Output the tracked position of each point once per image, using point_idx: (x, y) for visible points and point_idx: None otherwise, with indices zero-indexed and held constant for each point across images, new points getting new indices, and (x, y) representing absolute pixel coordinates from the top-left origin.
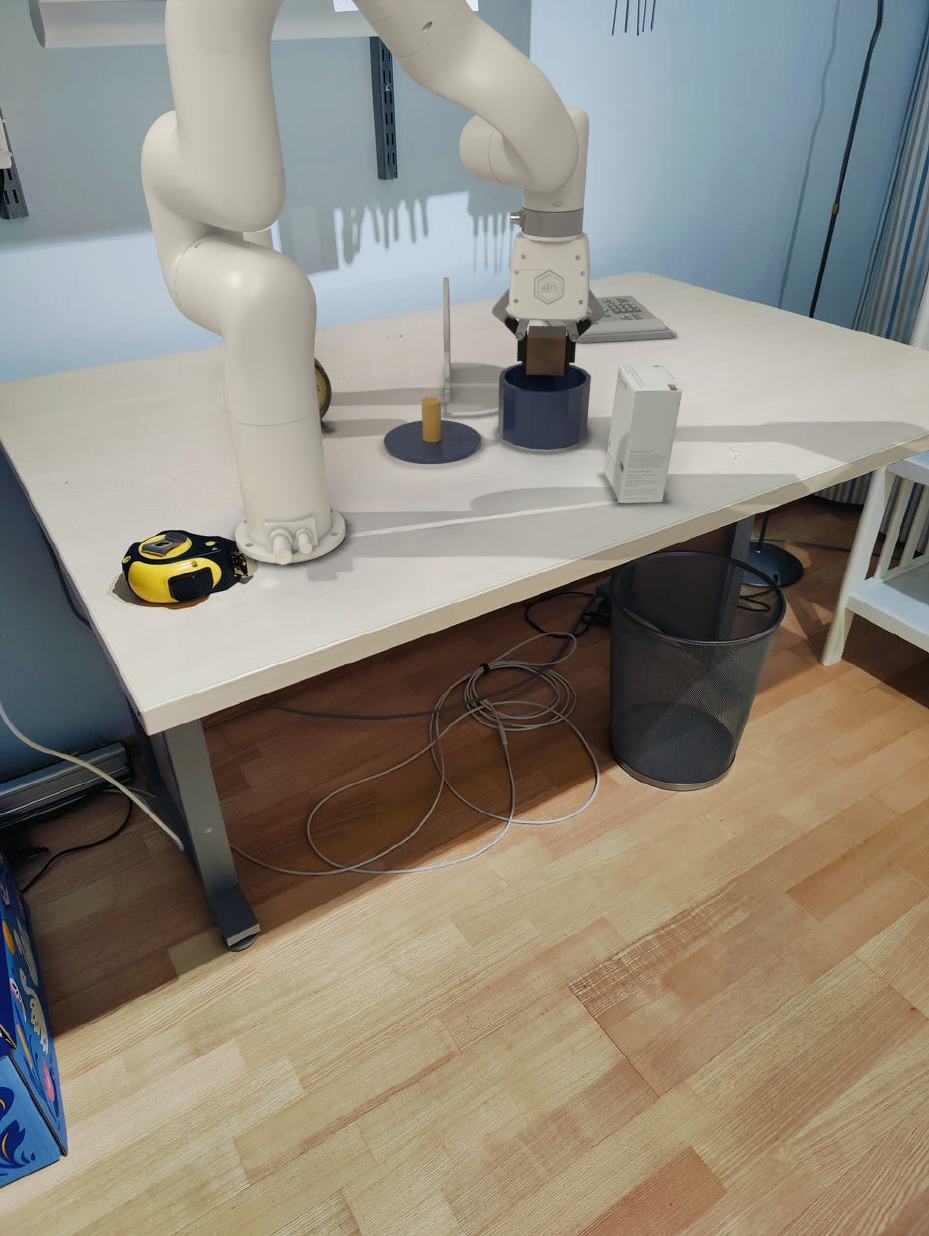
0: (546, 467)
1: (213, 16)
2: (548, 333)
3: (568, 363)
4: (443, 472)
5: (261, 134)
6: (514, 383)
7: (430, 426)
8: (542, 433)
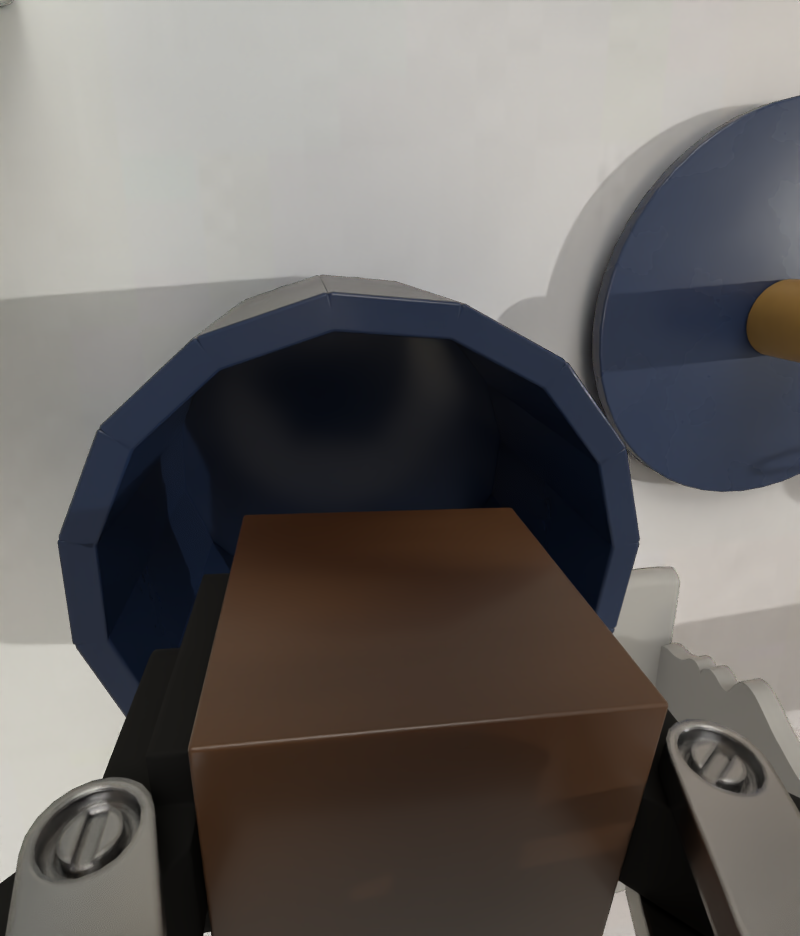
0: (318, 121)
1: None
2: (418, 847)
3: (201, 601)
4: (750, 58)
5: None
6: None
7: None
8: (352, 280)
